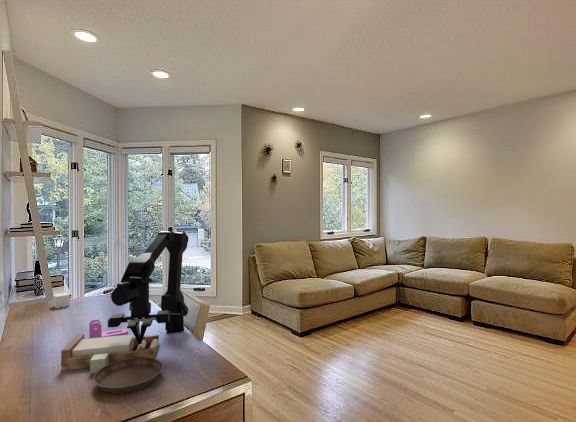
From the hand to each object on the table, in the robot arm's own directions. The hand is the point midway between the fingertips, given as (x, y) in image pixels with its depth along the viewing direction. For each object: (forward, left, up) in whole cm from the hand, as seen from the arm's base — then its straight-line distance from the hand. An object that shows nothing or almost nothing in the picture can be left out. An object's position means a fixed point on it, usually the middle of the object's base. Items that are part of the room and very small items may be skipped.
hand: (140, 343), depth 113 cm
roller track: (+7, 0, -3) cm, 8 cm away
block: (+10, +10, -3) cm, 14 cm away
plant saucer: (0, +19, -4) cm, 20 cm away
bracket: (+14, -20, -4) cm, 25 cm away
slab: (+11, 0, -1) cm, 11 cm away
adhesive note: (+49, -74, -3) cm, 89 cm away
